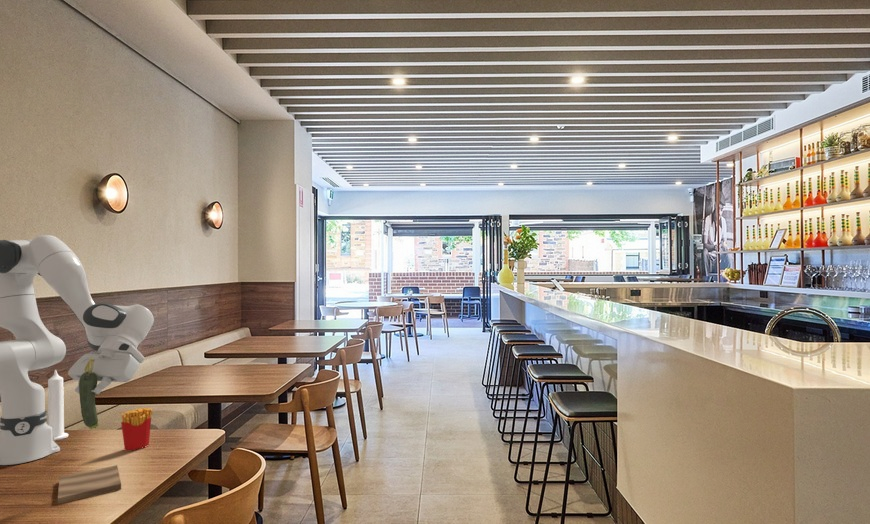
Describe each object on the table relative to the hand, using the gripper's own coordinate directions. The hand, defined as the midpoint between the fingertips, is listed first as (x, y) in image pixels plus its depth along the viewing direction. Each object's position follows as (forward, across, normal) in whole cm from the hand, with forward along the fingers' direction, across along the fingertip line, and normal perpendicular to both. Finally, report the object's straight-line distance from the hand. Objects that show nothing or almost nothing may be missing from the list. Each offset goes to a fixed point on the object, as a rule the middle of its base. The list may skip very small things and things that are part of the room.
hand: (86, 392), depth 141 cm
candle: (-4, -51, +41) cm, 66 cm away
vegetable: (+7, 0, +8) cm, 11 cm away
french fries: (-2, -12, +39) cm, 41 cm away
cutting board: (+18, 0, +19) cm, 26 cm away
